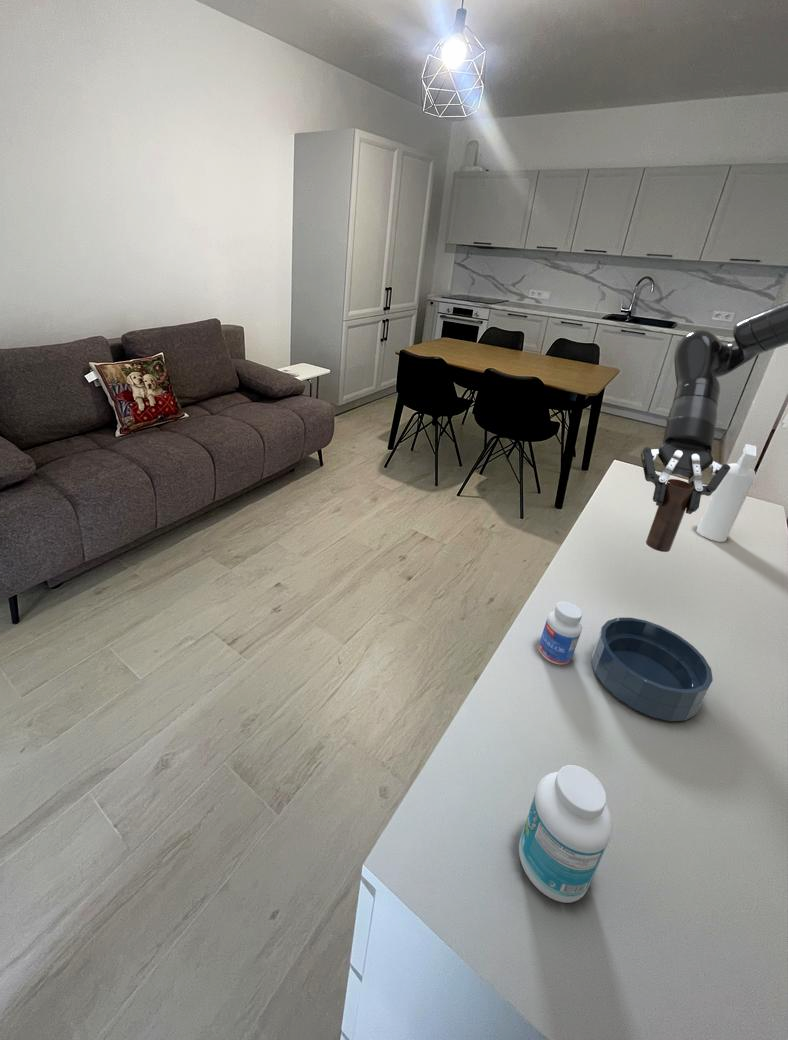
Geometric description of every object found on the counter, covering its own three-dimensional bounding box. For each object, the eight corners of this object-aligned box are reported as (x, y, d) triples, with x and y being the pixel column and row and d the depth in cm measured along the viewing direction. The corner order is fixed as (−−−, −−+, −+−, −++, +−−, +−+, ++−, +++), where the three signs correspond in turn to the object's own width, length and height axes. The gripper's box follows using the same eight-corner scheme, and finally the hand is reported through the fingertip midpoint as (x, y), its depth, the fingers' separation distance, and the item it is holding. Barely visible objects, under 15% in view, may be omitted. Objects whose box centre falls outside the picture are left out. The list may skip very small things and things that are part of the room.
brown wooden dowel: (673, 547, 92) (697, 485, 88) (666, 554, 90) (690, 491, 85) (650, 537, 95) (671, 476, 90) (642, 544, 93) (664, 482, 88)
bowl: (709, 689, 81) (724, 659, 78) (679, 744, 71) (695, 712, 69) (612, 633, 91) (622, 605, 89) (574, 674, 81) (584, 644, 79)
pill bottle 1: (532, 650, 86) (545, 605, 82) (547, 637, 89) (560, 593, 85) (562, 671, 82) (577, 625, 78) (577, 656, 85) (592, 611, 82)
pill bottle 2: (540, 815, 61) (567, 738, 56) (599, 874, 55) (635, 795, 50) (503, 856, 56) (529, 777, 51) (564, 924, 51) (600, 843, 46)
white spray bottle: (728, 530, 131) (766, 442, 121) (727, 549, 122) (767, 456, 112) (698, 520, 134) (733, 435, 125) (694, 538, 126) (731, 447, 116)
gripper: (652, 407, 93) (633, 489, 87) (745, 424, 87) (731, 514, 81) (643, 426, 99) (625, 503, 94) (729, 443, 93) (715, 527, 88)
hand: (674, 508), depth 88 cm, fingers closed on brown wooden dowel, 4 cm apart
